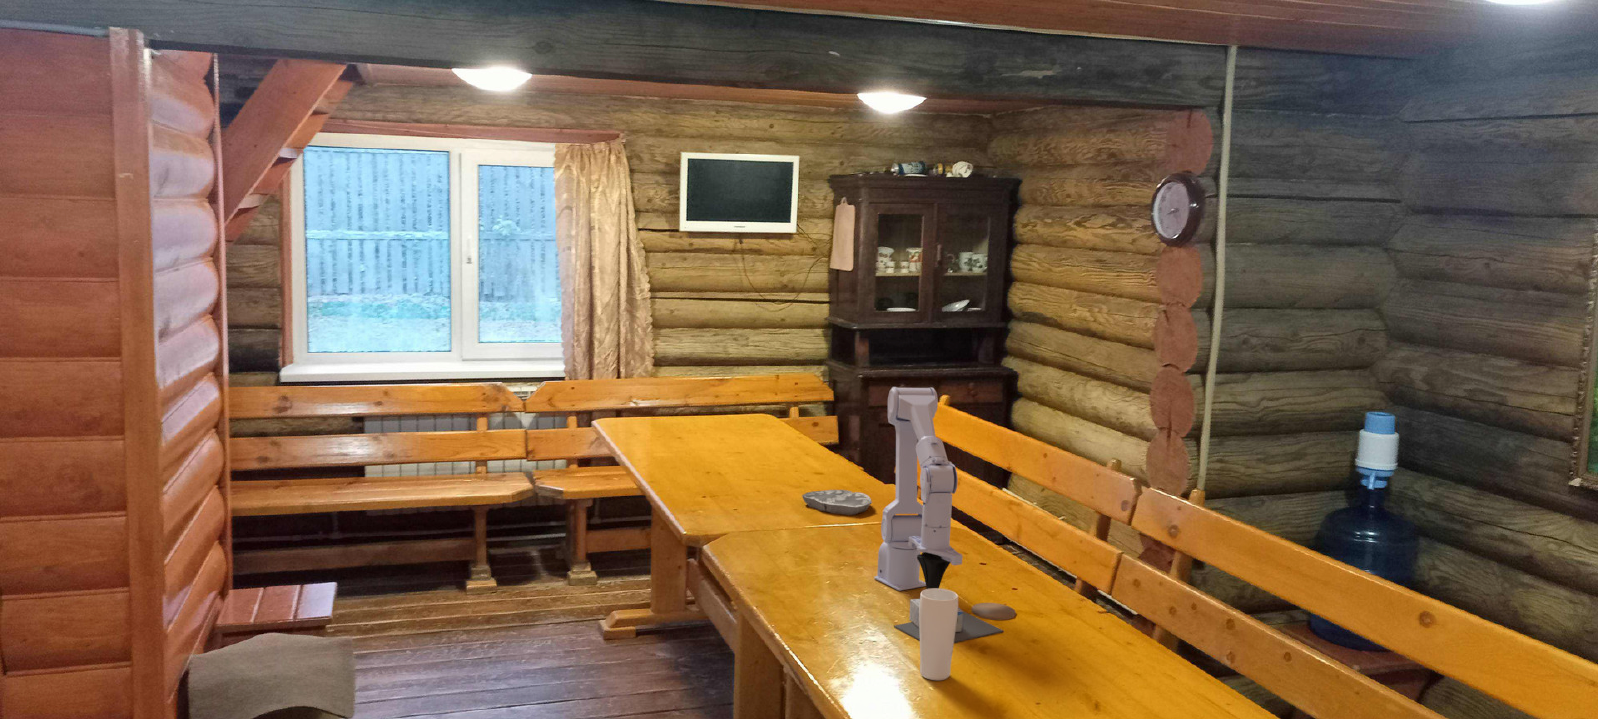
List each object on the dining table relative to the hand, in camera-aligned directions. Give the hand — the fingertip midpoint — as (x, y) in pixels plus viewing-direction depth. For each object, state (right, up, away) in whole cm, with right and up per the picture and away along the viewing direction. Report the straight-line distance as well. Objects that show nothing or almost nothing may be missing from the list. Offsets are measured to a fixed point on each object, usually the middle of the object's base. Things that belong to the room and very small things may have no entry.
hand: (932, 589), depth 228 cm
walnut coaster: (+13, -6, +7) cm, 17 cm away
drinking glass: (-3, -10, -27) cm, 29 cm away
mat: (+3, -7, -4) cm, 8 cm away
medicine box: (-1, -4, +1) cm, 4 cm away
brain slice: (-16, +5, +87) cm, 89 cm away
